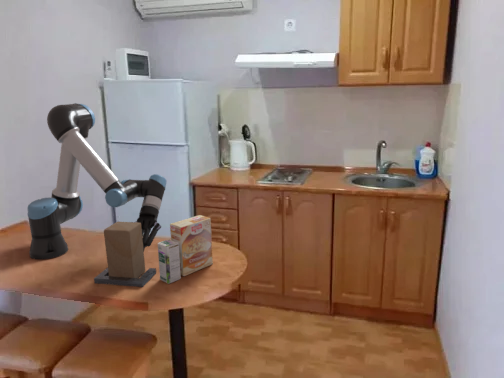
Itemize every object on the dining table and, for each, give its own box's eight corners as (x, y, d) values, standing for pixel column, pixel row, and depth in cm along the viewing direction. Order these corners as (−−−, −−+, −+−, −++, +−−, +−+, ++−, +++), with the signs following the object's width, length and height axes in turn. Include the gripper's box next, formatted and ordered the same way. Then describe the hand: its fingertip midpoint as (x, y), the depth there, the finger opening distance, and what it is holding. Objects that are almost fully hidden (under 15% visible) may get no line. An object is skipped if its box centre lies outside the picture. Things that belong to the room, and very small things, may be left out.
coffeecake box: (183, 276, 157) (180, 227, 152) (172, 271, 162) (168, 223, 157) (213, 264, 167) (211, 217, 163) (202, 259, 172) (199, 214, 168)
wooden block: (133, 282, 153) (128, 231, 148) (108, 281, 155) (102, 229, 150) (145, 271, 162) (141, 222, 158) (122, 269, 164) (117, 221, 160)
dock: (94, 283, 153) (94, 278, 153) (111, 269, 164) (110, 265, 164) (142, 287, 150) (142, 281, 149) (156, 273, 160) (155, 268, 160)
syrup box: (159, 279, 155) (156, 242, 151) (172, 274, 159) (169, 238, 156) (168, 284, 151) (165, 246, 148) (181, 278, 155) (179, 242, 152)
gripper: (167, 213, 177) (154, 266, 166) (139, 212, 180) (124, 264, 168) (161, 205, 171) (147, 259, 159) (132, 204, 174) (116, 257, 162)
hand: (135, 262), depth 164 cm, fingers closed
